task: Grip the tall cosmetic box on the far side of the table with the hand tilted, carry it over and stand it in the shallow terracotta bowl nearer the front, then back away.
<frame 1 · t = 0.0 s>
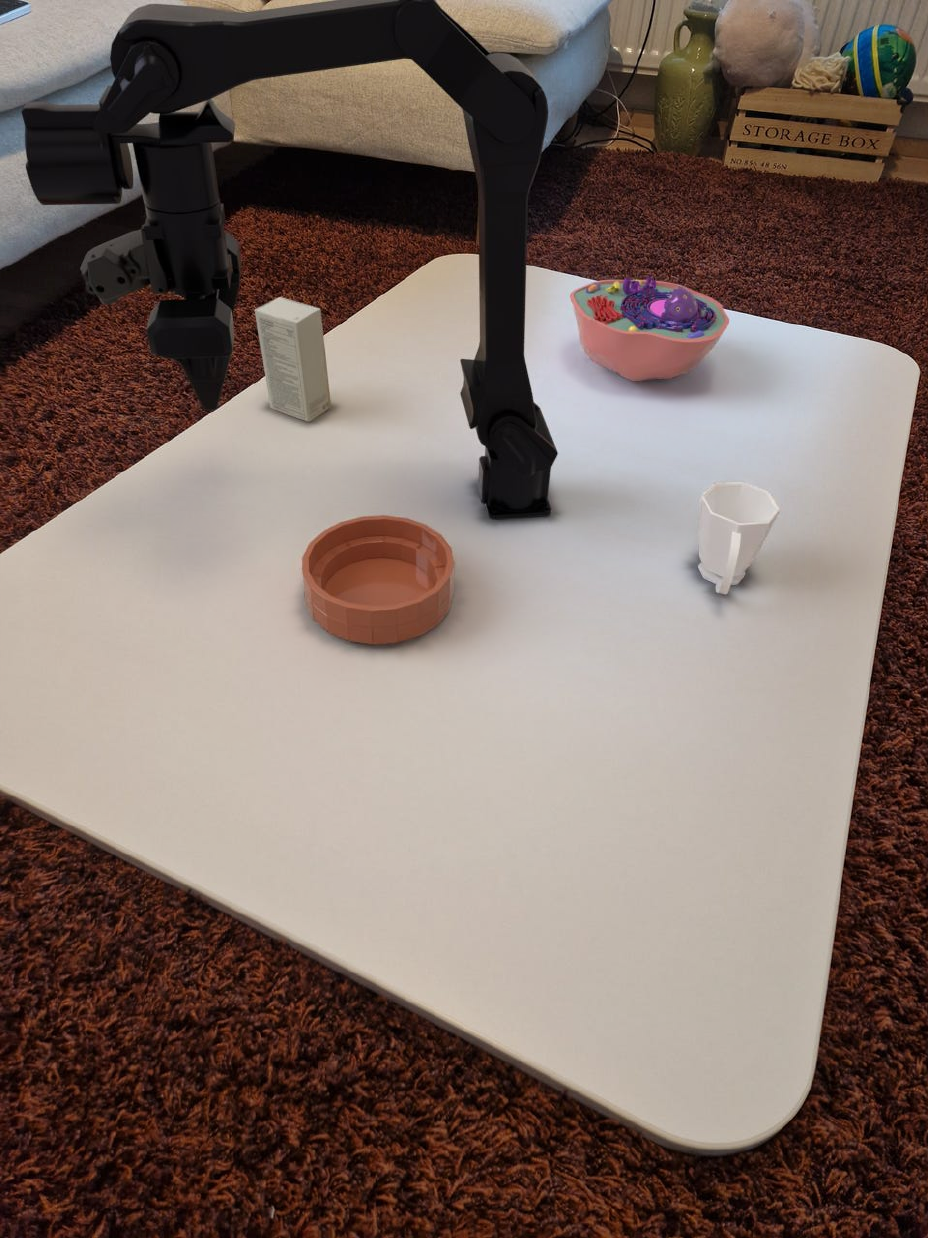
hand: (213, 383, 82), 15 cm above the table, tool pointing down, fingers open, 9 cm apart
cup: (719, 582, 87), on the table
cosmetic box: (299, 409, 108), on the table
terracotta bowl: (380, 598, 83), on the table
cell model: (637, 370, 118), on the table
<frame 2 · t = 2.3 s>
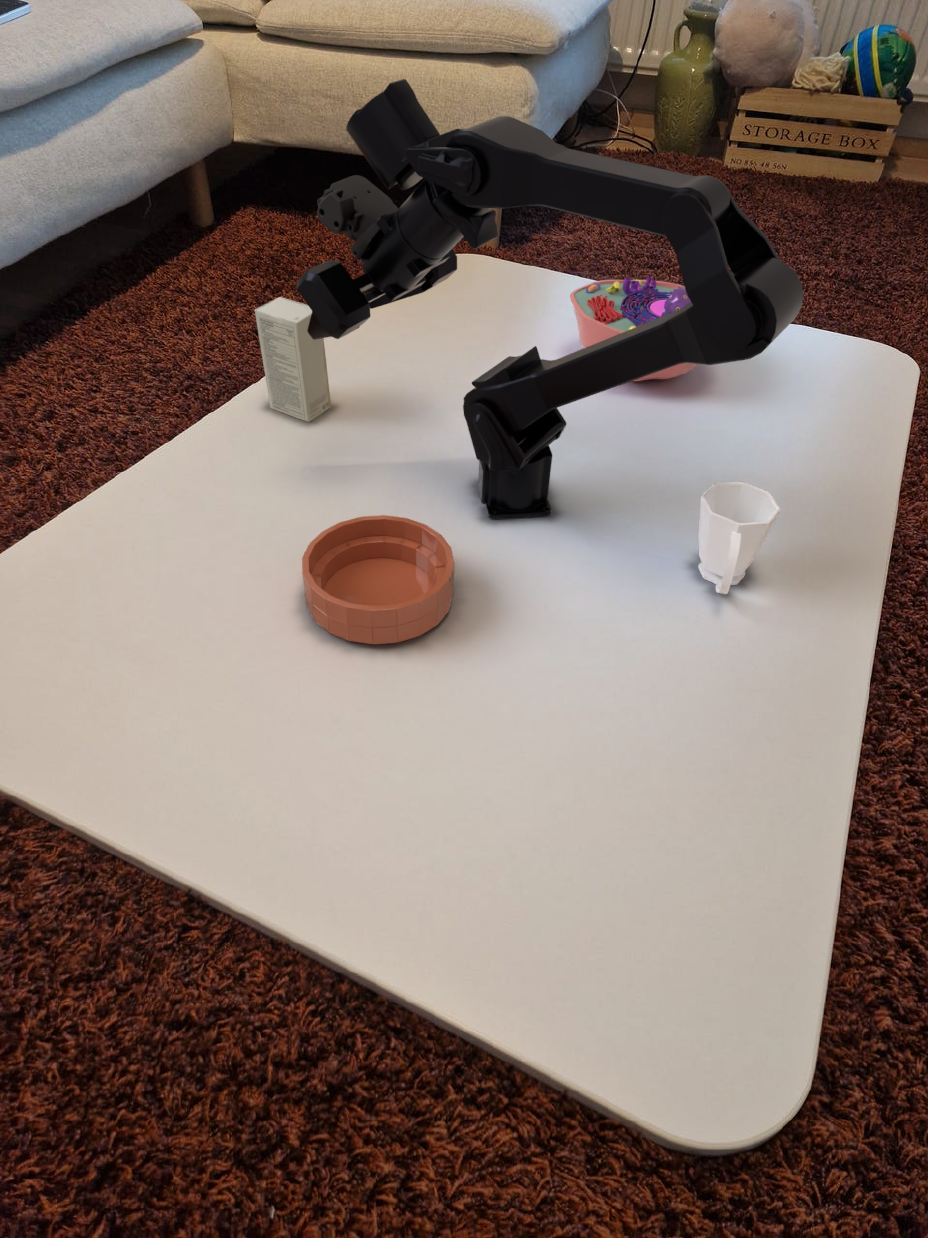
hand: (340, 319, 95), 13 cm above the table, tool tilted 45°, fingers open, 9 cm apart
nothing on the table moved.
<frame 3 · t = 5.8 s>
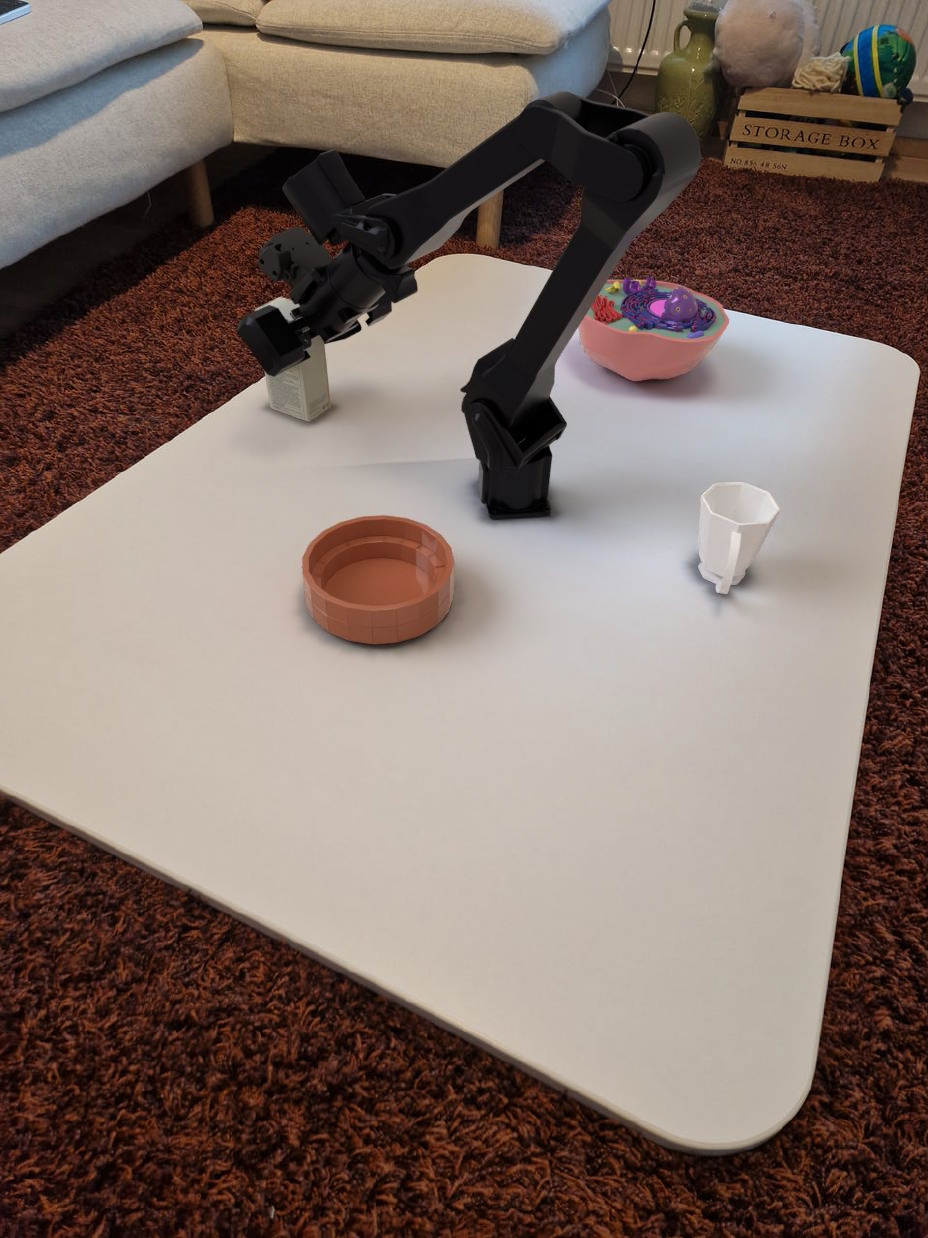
hand: (284, 352, 104), 7 cm above the table, tool tilted 45°, fingers closed on cosmetic box, 4 cm apart
cosmetic box: (299, 409, 108), on the table, touching gripper
everything else where it was.
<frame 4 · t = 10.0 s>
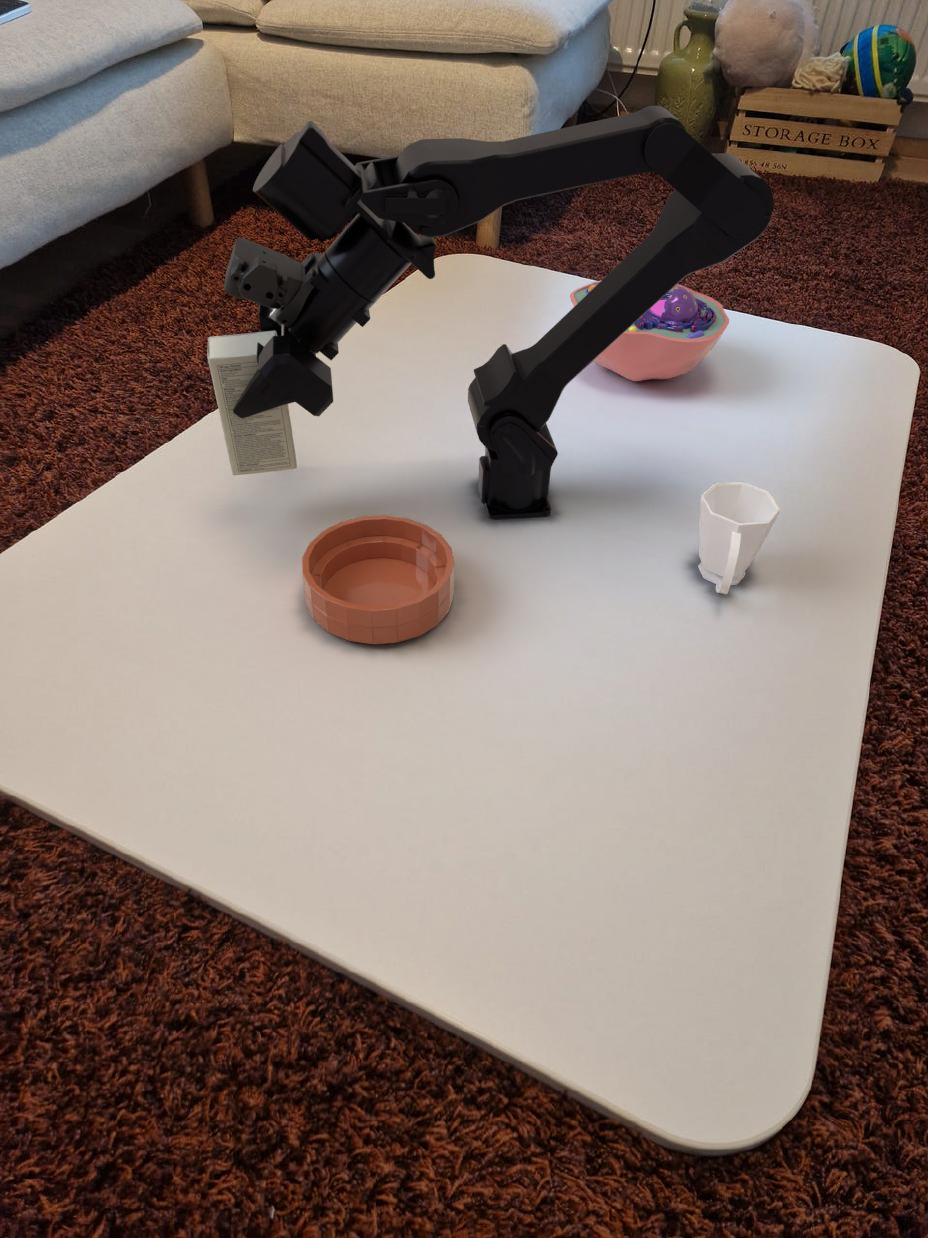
hand: (238, 401, 83), 13 cm above the table, tool tilted 45°, fingers closed on cosmetic box, 4 cm apart
cosmetic box: (263, 463, 88), point 6 cm above the table, touching gripper
everything else where it was.
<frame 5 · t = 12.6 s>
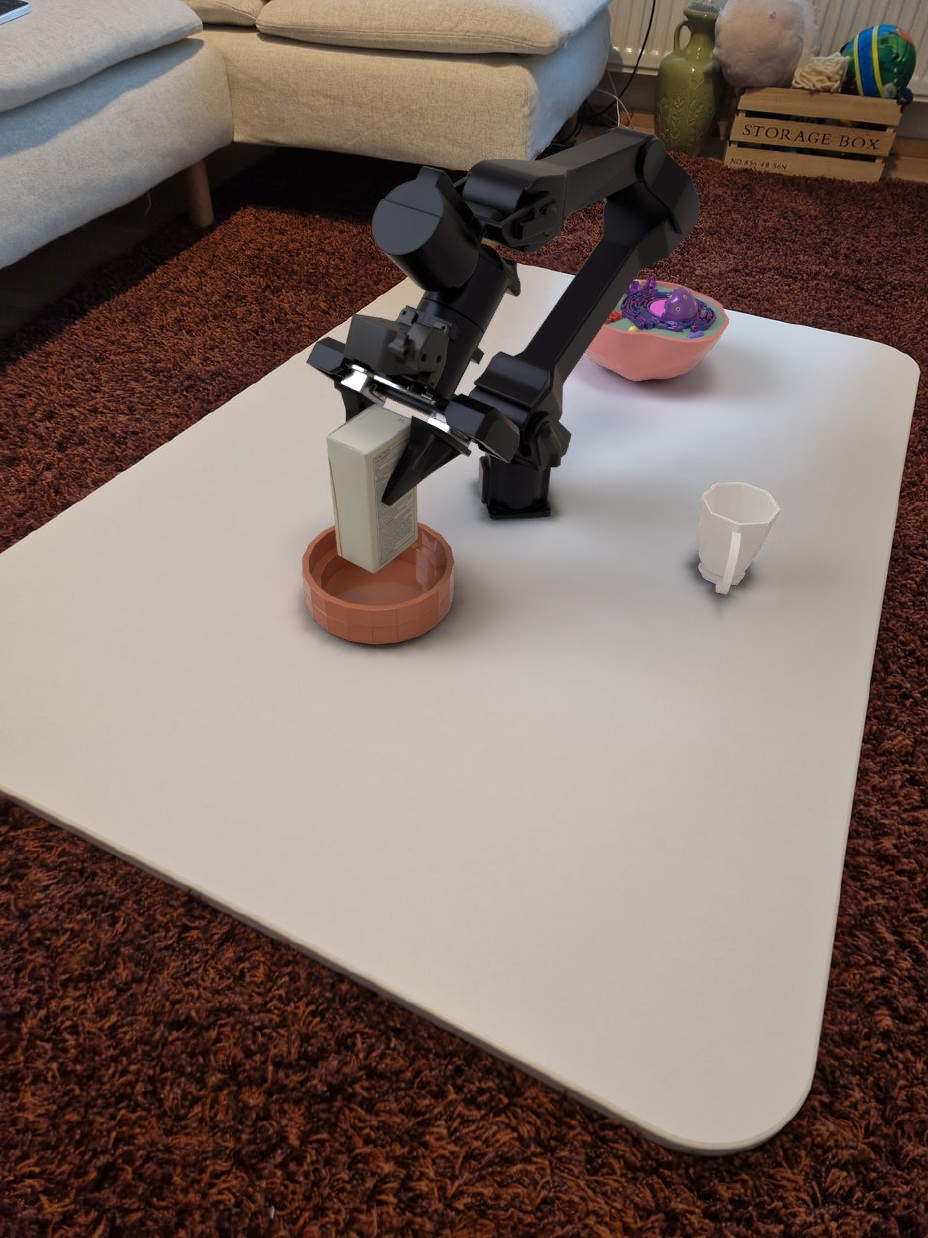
hand: (363, 493, 74), 12 cm above the table, tool tilted 45°, fingers closed on cosmetic box, 4 cm apart
cosmetic box: (378, 550, 80), point 5 cm above the table, touching gripper
everything else where it was.
when the fingers open (7 cm above the table, at t = 14.4 s): cosmetic box stays where it is, resting on terracotta bowl.
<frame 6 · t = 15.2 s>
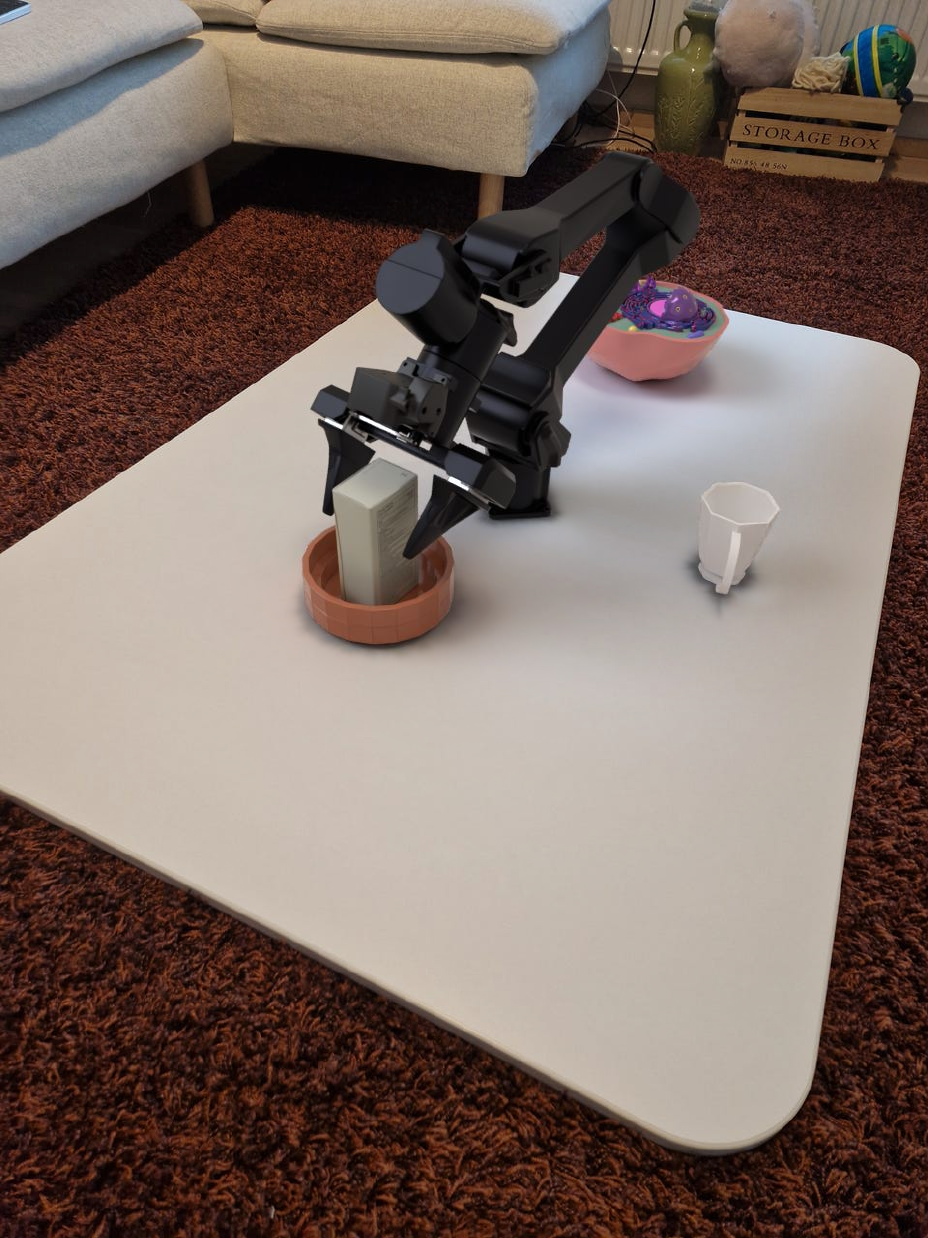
hand: (365, 535, 77), 8 cm above the table, tool tilted 45°, fingers open, 9 cm apart
cosmetic box: (380, 594, 83), resting on terracotta bowl
everything else where it was.
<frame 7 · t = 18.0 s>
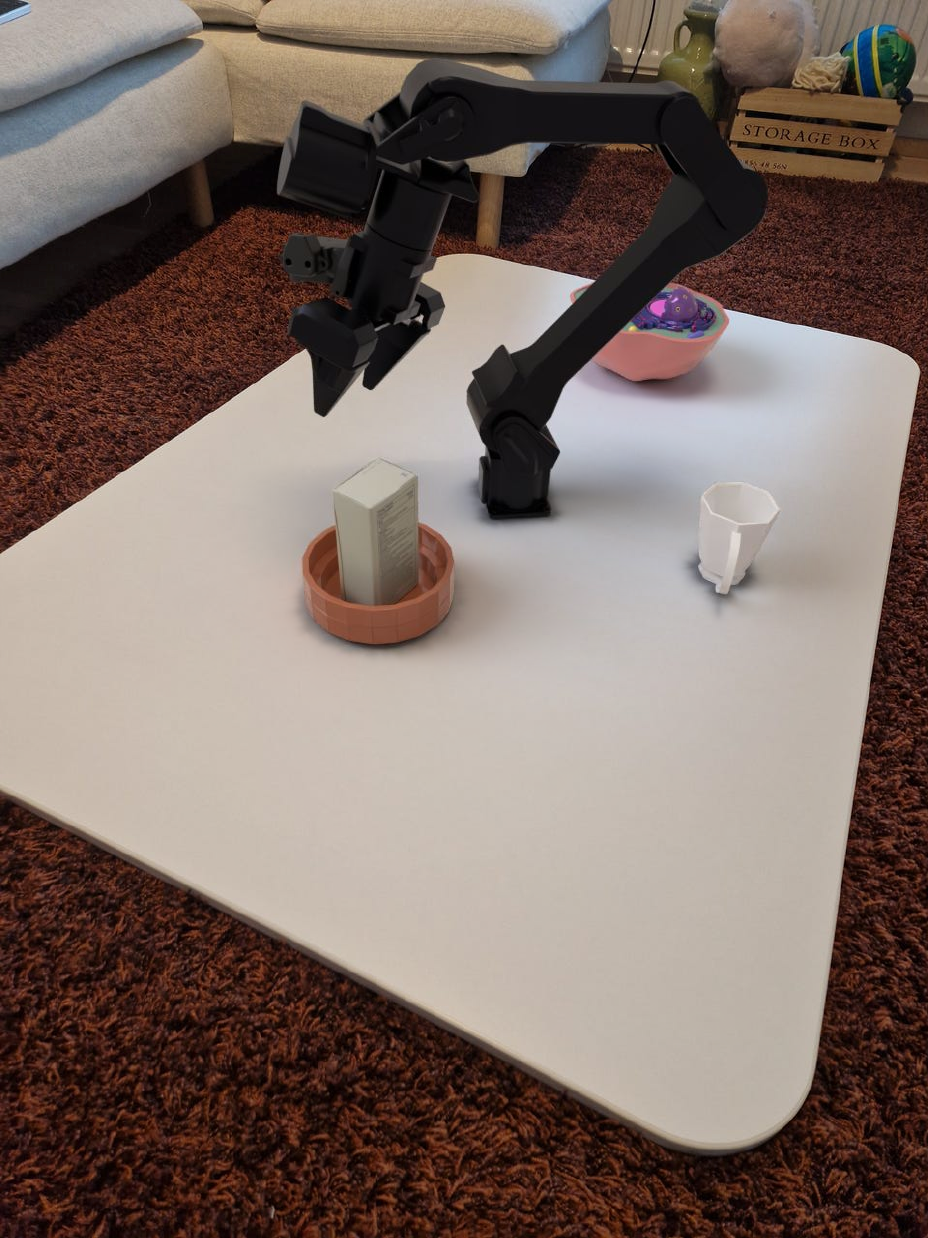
hand: (344, 400, 84), 13 cm above the table, tool tilted 20°, fingers open, 9 cm apart
nothing on the table moved.
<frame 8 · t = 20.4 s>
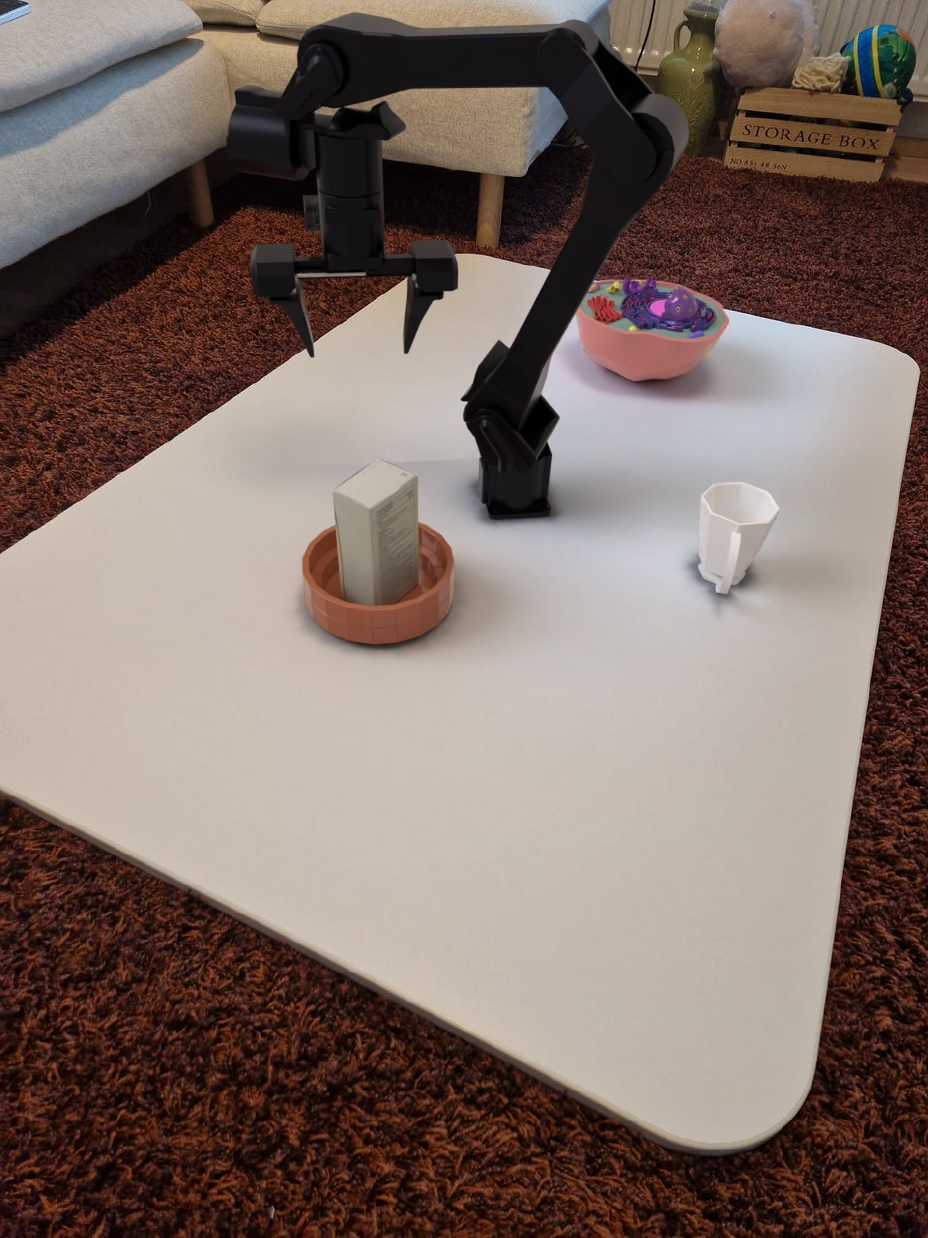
hand: (359, 353, 91), 13 cm above the table, tool pointing down, fingers open, 9 cm apart
nothing on the table moved.
at the end: cosmetic box inside the target area in the terracotta bowl (0.1 cm from its centre), point 0.4 cm above the terracotta bowl's base; cosmetic box tilted 0°; the gripper is holding nothing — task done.
